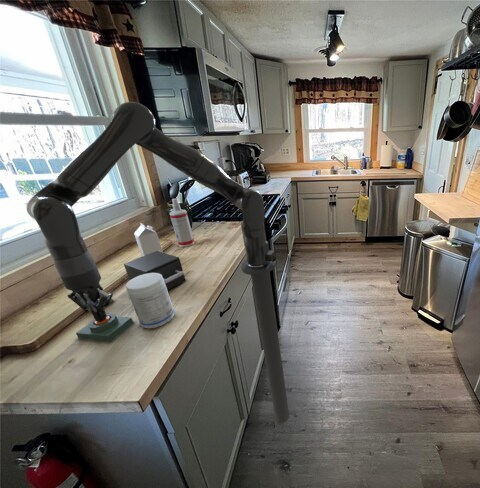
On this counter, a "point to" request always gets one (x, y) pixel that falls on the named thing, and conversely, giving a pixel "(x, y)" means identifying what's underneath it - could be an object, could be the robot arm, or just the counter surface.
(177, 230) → the spray bottle
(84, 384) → the counter surface
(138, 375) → the counter surface
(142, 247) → the milk carton
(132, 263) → the small drawer cabinet
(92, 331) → the block
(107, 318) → the button
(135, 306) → the supplement tub
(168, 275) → the drawer
